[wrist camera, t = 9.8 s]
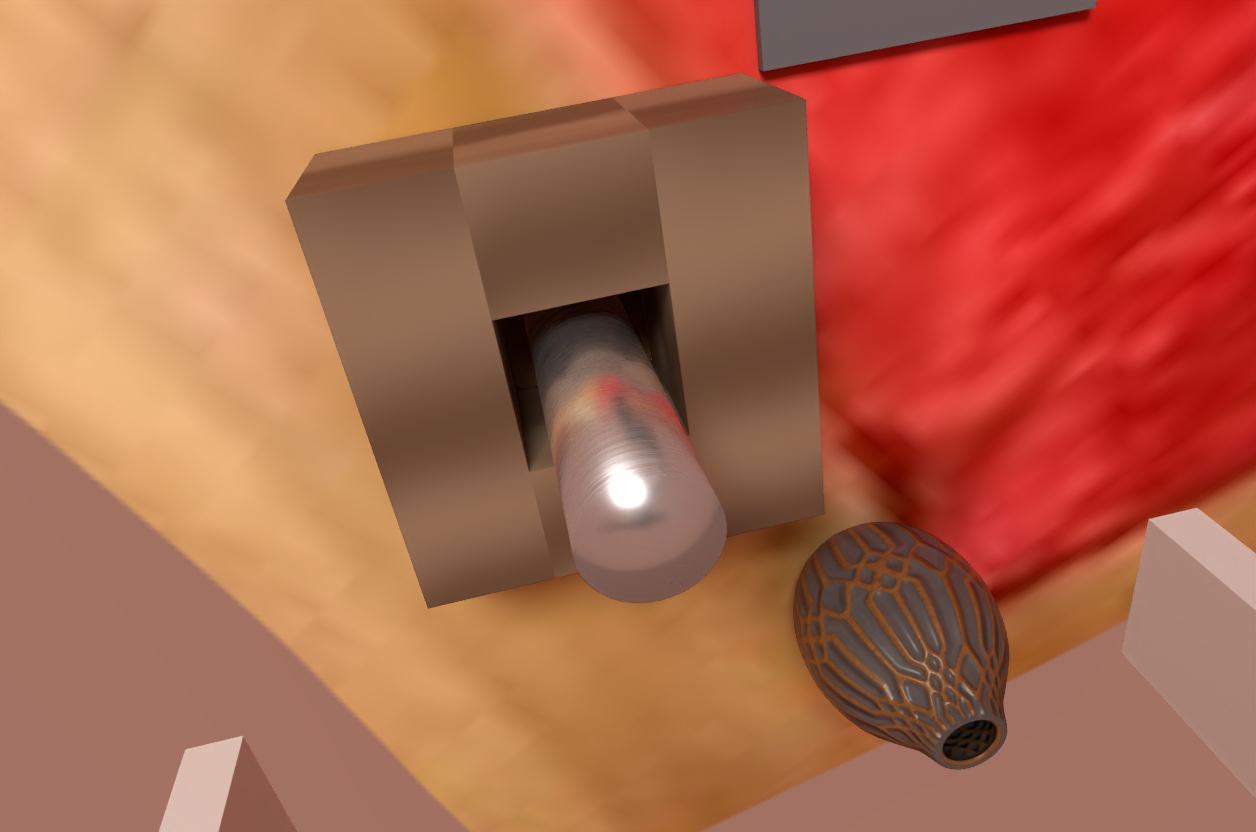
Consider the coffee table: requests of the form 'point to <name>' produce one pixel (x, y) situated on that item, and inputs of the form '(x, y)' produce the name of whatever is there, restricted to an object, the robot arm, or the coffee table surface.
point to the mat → (880, 24)
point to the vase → (905, 641)
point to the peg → (621, 457)
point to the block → (565, 274)
